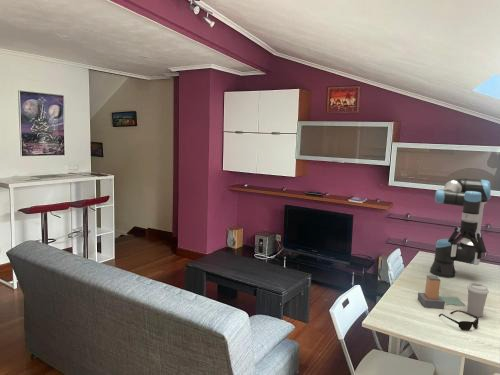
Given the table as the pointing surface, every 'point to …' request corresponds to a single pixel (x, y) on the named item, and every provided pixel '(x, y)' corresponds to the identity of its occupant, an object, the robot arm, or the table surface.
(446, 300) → the pad
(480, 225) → the robot arm
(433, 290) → the plug
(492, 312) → the table surface
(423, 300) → the grey square frame
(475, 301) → the coffee cup
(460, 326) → the sunglasses
